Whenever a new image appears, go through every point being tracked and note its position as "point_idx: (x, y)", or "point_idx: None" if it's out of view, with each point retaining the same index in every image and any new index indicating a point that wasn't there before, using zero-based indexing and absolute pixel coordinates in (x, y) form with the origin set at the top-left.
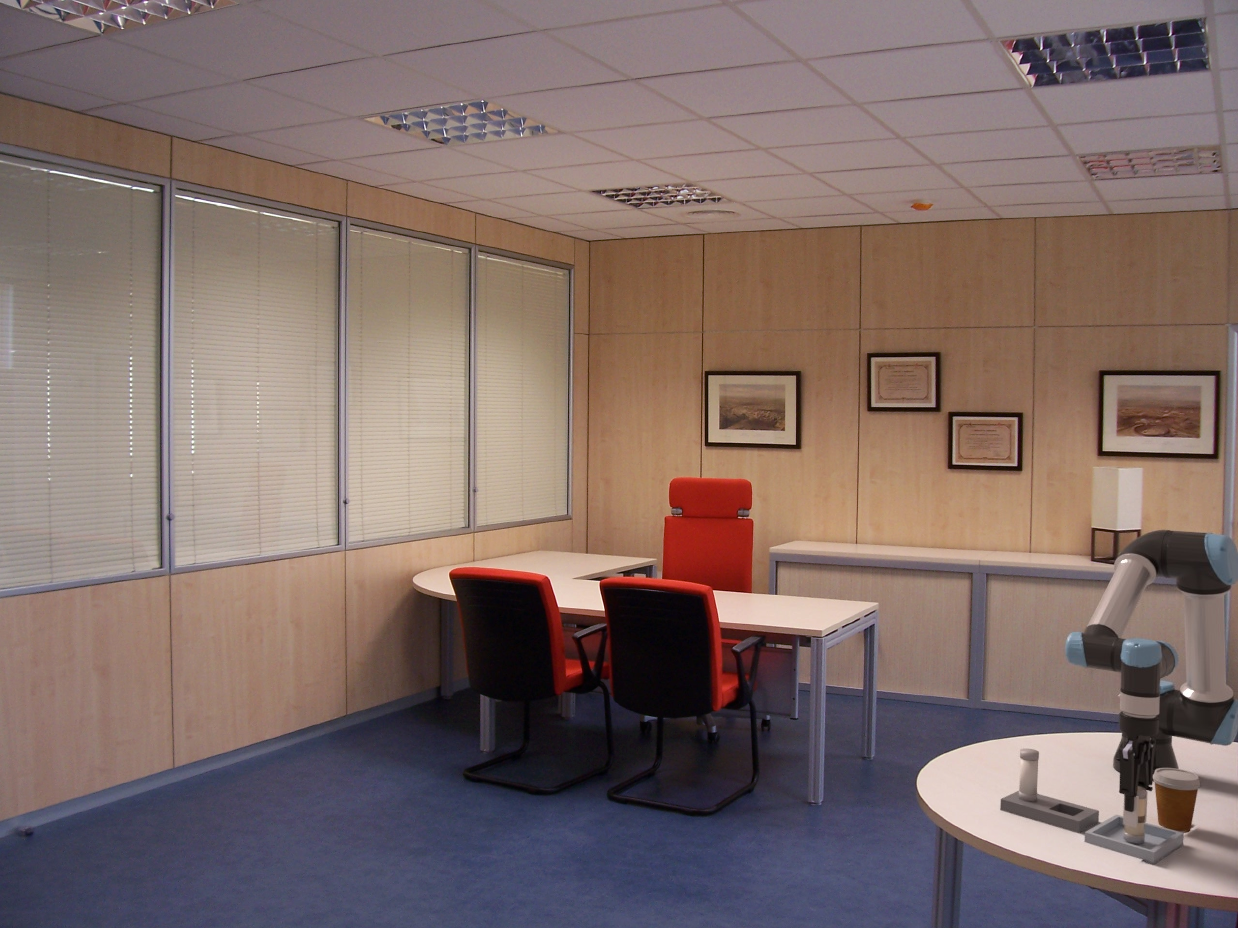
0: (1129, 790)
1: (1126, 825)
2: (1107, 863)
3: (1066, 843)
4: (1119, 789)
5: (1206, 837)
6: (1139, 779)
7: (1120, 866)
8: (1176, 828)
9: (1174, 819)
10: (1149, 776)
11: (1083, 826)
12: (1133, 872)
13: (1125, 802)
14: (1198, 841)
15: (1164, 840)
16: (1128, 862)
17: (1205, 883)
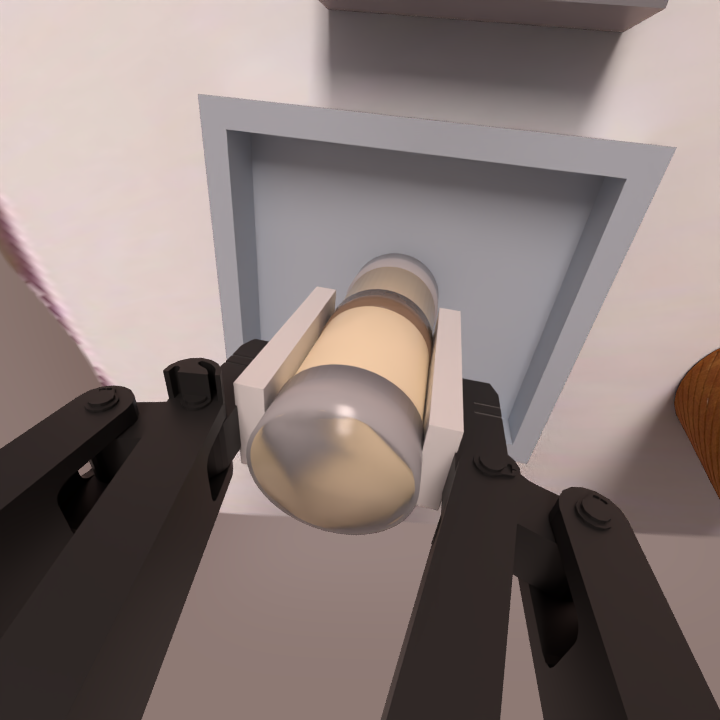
0: (84, 479)
1: (348, 293)
2: (130, 253)
3: (161, 10)
4: (70, 403)
5: (661, 486)
6: (431, 551)
7: (147, 295)
8: (679, 414)
9: (697, 436)
10: (536, 643)
11: (384, 5)
12: (142, 337)
13: (223, 368)
14: (591, 466)
15: (499, 384)
16: (201, 309)
17: (239, 480)
